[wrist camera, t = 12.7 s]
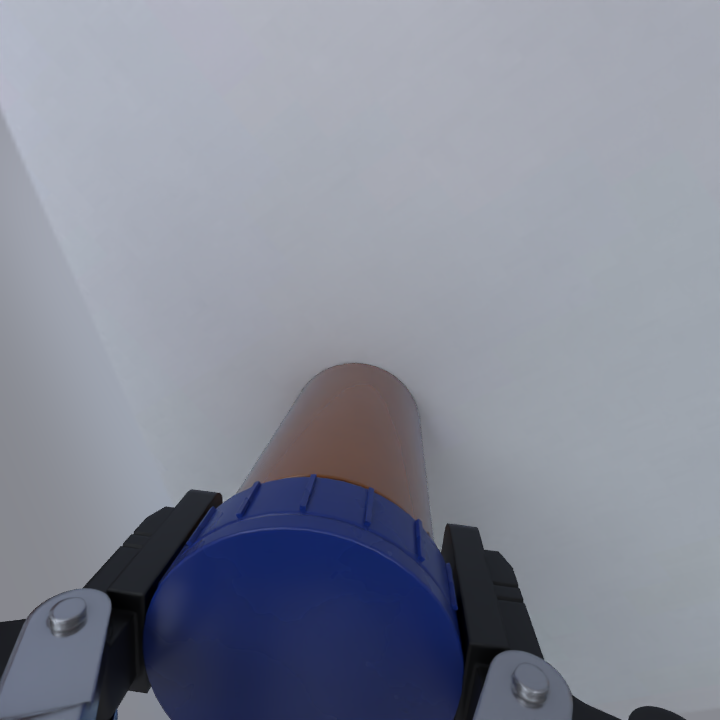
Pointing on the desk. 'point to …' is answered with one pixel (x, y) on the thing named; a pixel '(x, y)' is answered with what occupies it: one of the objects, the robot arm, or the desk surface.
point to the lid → (306, 612)
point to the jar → (353, 438)
